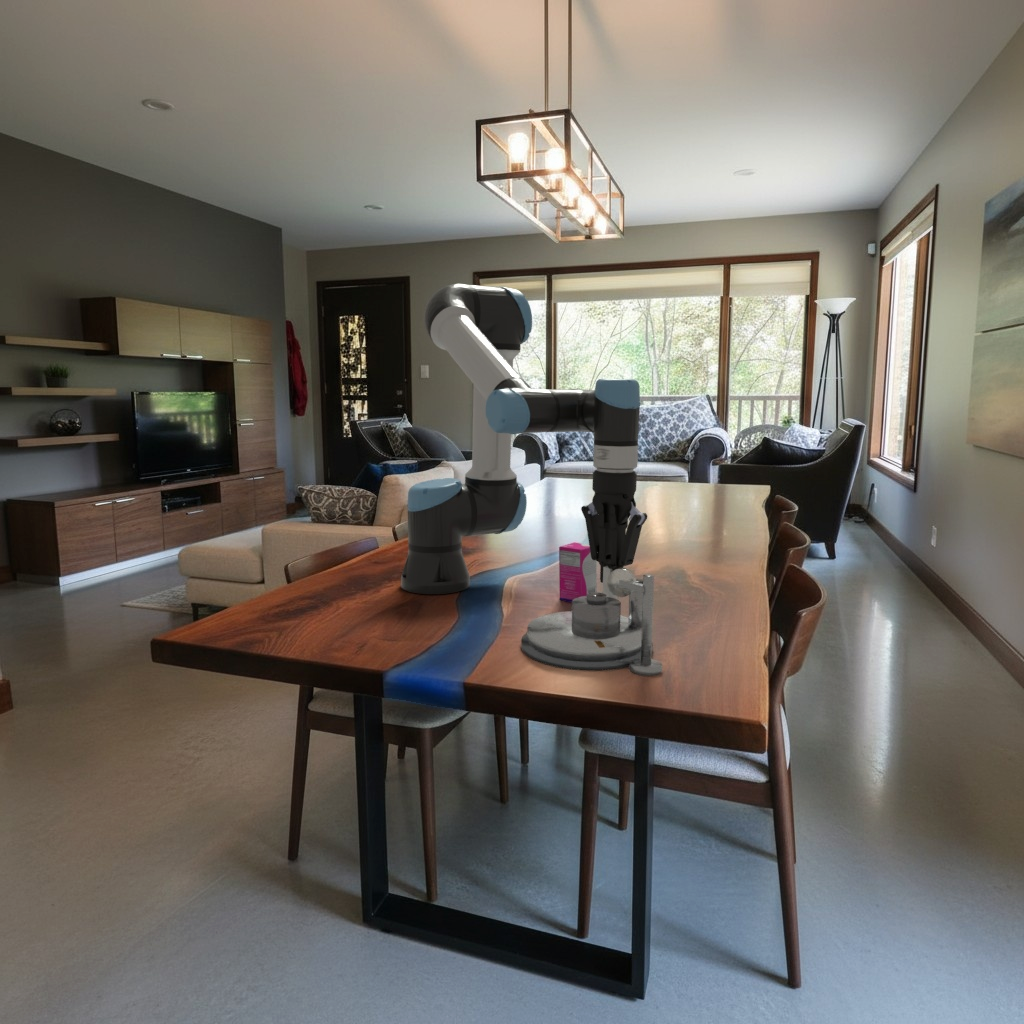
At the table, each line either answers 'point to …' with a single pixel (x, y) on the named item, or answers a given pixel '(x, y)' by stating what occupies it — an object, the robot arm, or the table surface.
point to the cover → (596, 616)
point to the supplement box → (576, 571)
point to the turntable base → (576, 664)
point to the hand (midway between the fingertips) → (610, 601)
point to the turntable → (559, 640)
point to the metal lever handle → (621, 586)
